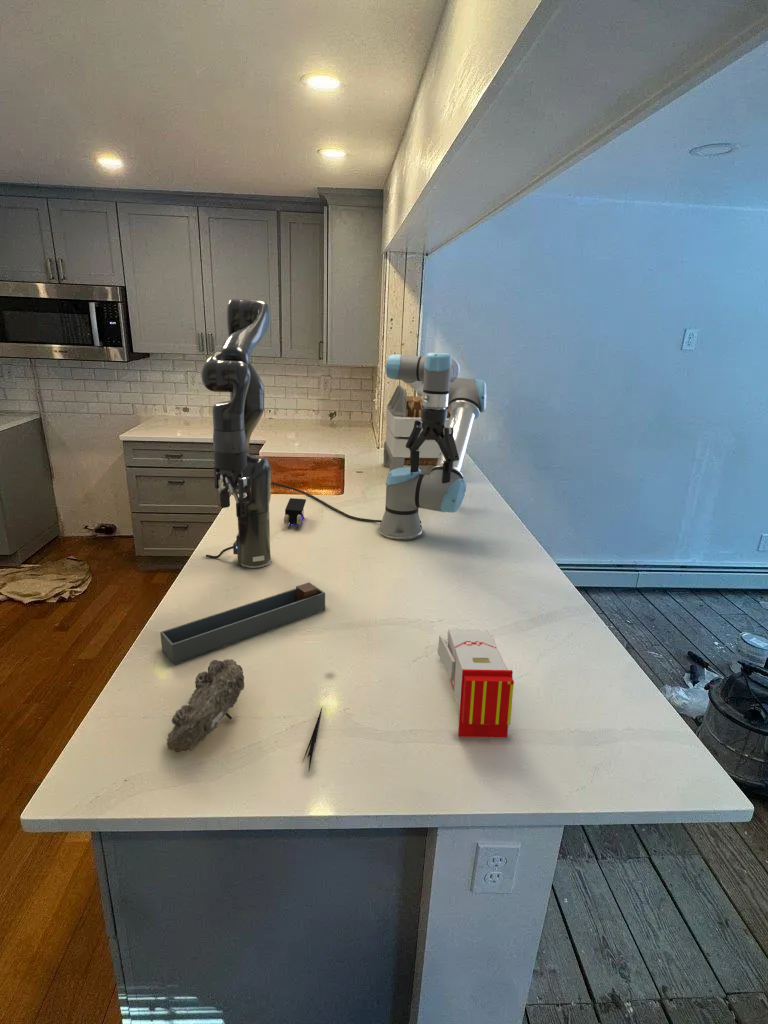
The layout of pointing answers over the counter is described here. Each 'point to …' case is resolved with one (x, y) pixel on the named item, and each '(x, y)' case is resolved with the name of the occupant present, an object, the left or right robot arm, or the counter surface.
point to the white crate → (406, 432)
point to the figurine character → (294, 512)
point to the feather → (313, 740)
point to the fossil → (206, 705)
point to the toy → (478, 682)
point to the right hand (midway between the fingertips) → (429, 477)
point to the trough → (237, 624)
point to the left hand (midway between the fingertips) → (233, 512)
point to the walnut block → (305, 591)
